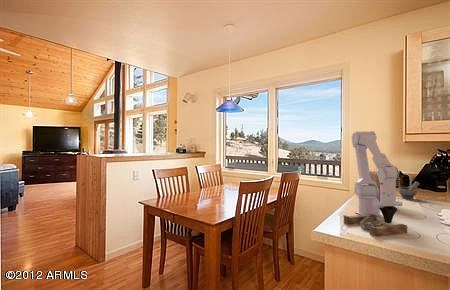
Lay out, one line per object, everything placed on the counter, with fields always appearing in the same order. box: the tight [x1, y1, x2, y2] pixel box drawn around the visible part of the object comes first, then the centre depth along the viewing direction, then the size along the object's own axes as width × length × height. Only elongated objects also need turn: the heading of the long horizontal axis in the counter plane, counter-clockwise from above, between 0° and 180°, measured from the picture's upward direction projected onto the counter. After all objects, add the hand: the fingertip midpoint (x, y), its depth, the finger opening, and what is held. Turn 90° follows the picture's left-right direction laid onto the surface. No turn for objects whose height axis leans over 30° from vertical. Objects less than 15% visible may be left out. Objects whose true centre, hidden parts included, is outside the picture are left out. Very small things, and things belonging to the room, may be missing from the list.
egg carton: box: [359, 215, 386, 231], centre depth 102 cm, size 11×8×4 cm
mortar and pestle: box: [397, 181, 421, 201], centre depth 152 cm, size 11×9×12 cm
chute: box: [343, 214, 408, 237], centre depth 102 cm, size 17×17×4 cm
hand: (387, 222), depth 103 cm, fingers closed
